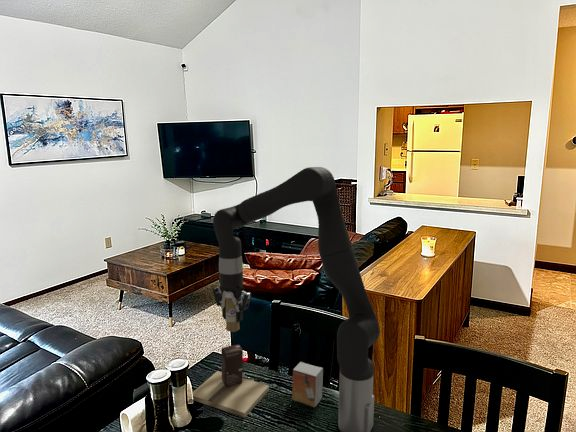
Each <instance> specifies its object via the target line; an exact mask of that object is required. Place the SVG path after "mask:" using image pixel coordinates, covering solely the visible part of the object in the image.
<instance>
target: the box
mask: <svg viewBox="0 0 576 432" xmlns="http://www.w3.org/2000/svg"><path fill="white" fill-rule="evenodd" d="M243 353H244V350H243V347H241V345H240V344H239V343H238V344H233V345H228V346H223V347H221V372H222V382H223V384H224V385H225V387H227V386H231V385H235V384H239V383H242V378H243V364H244V363H243V360H244V359H243V358H244V357H243V355H244V354H243Z"/></svg>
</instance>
